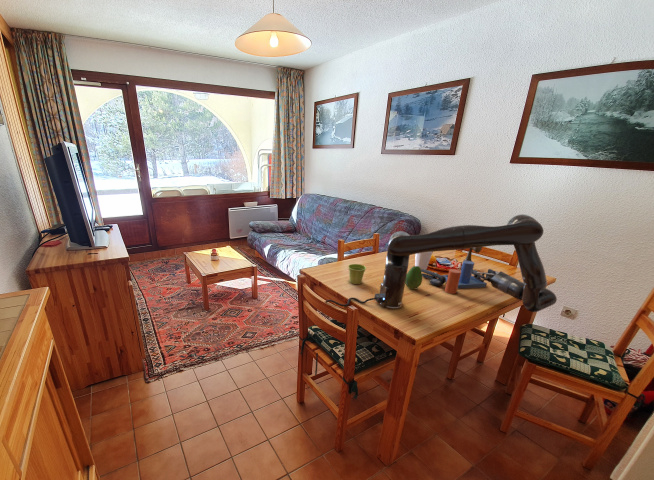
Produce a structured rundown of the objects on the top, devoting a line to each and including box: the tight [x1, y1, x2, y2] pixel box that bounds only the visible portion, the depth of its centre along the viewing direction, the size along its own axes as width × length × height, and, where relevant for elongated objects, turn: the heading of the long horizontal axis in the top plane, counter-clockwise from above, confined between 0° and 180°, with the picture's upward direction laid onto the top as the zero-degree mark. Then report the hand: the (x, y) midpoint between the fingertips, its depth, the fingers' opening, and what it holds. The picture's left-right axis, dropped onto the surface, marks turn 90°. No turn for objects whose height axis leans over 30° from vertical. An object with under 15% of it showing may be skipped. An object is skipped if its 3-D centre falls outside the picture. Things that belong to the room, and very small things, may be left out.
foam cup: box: [414, 252, 433, 270], centre depth 182 cm, size 10×9×13 cm
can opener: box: [421, 269, 447, 287], centre depth 165 cm, size 18×7×6 cm, turn 12°
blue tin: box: [459, 261, 475, 284], centre depth 162 cm, size 5×5×11 cm
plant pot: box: [347, 263, 367, 285], centre depth 163 cm, size 9×9×9 cm
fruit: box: [405, 265, 423, 290], centre depth 155 cm, size 8×8×12 cm
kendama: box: [460, 247, 483, 268], centre depth 181 cm, size 6×10×20 cm, turn 28°
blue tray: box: [442, 274, 488, 289], centre depth 164 cm, size 16×14×2 cm
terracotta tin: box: [444, 268, 461, 295], centre depth 152 cm, size 5×5×11 cm
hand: (480, 271), depth 152 cm, fingers open, 8 cm apart
